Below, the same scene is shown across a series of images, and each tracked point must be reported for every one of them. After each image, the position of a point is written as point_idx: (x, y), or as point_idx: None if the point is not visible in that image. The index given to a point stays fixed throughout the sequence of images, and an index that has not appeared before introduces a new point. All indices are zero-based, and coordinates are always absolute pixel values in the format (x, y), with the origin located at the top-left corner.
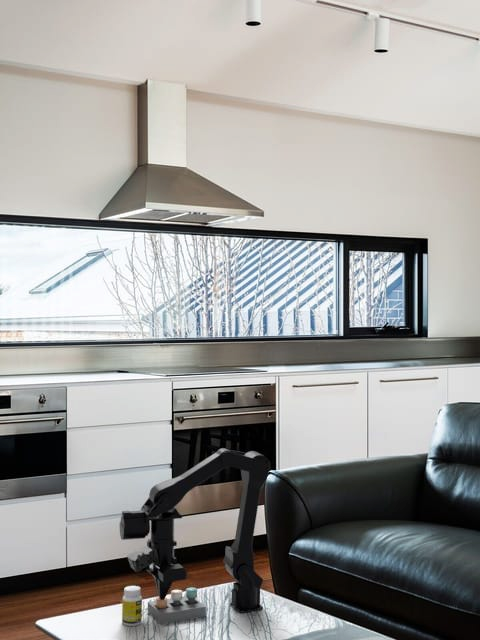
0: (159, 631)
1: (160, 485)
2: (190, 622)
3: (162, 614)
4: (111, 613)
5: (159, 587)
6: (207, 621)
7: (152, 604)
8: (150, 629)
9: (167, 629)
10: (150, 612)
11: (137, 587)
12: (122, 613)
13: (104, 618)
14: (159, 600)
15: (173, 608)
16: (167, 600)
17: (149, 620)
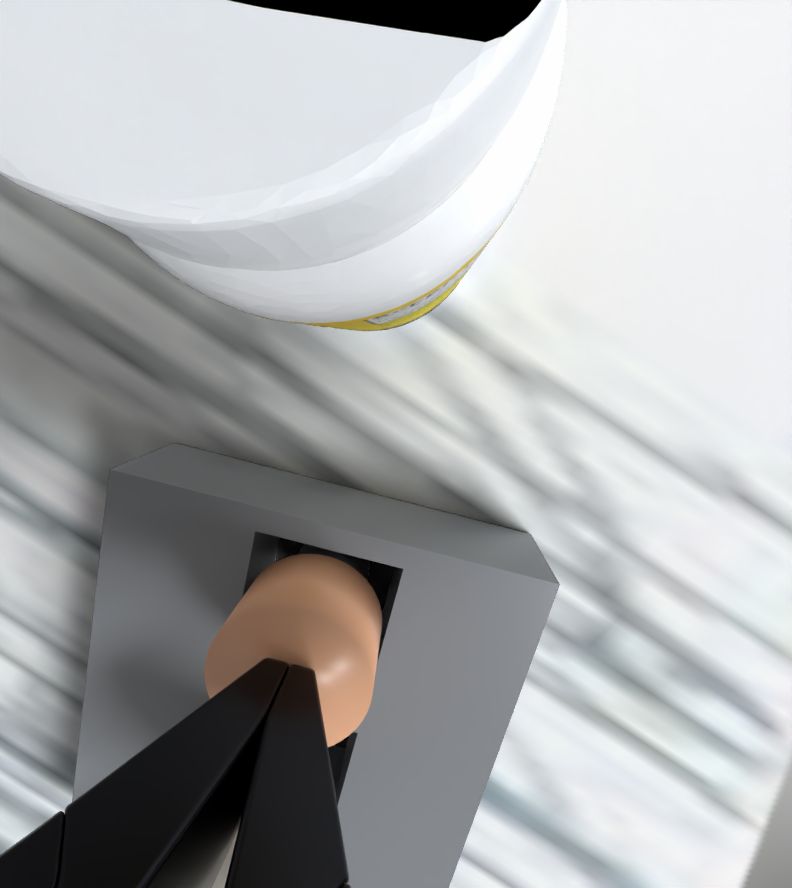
0: (6, 322)
1: None
2: (66, 660)
3: (116, 492)
4: (778, 180)
5: (40, 828)
6: (19, 765)
7: (446, 578)
8: (95, 278)
9: (16, 414)
10: (450, 519)
11: (118, 63)
12: (400, 16)
13: (707, 3)
14: (255, 628)
15: (182, 676)
16: (440, 769)
17: (314, 410)
